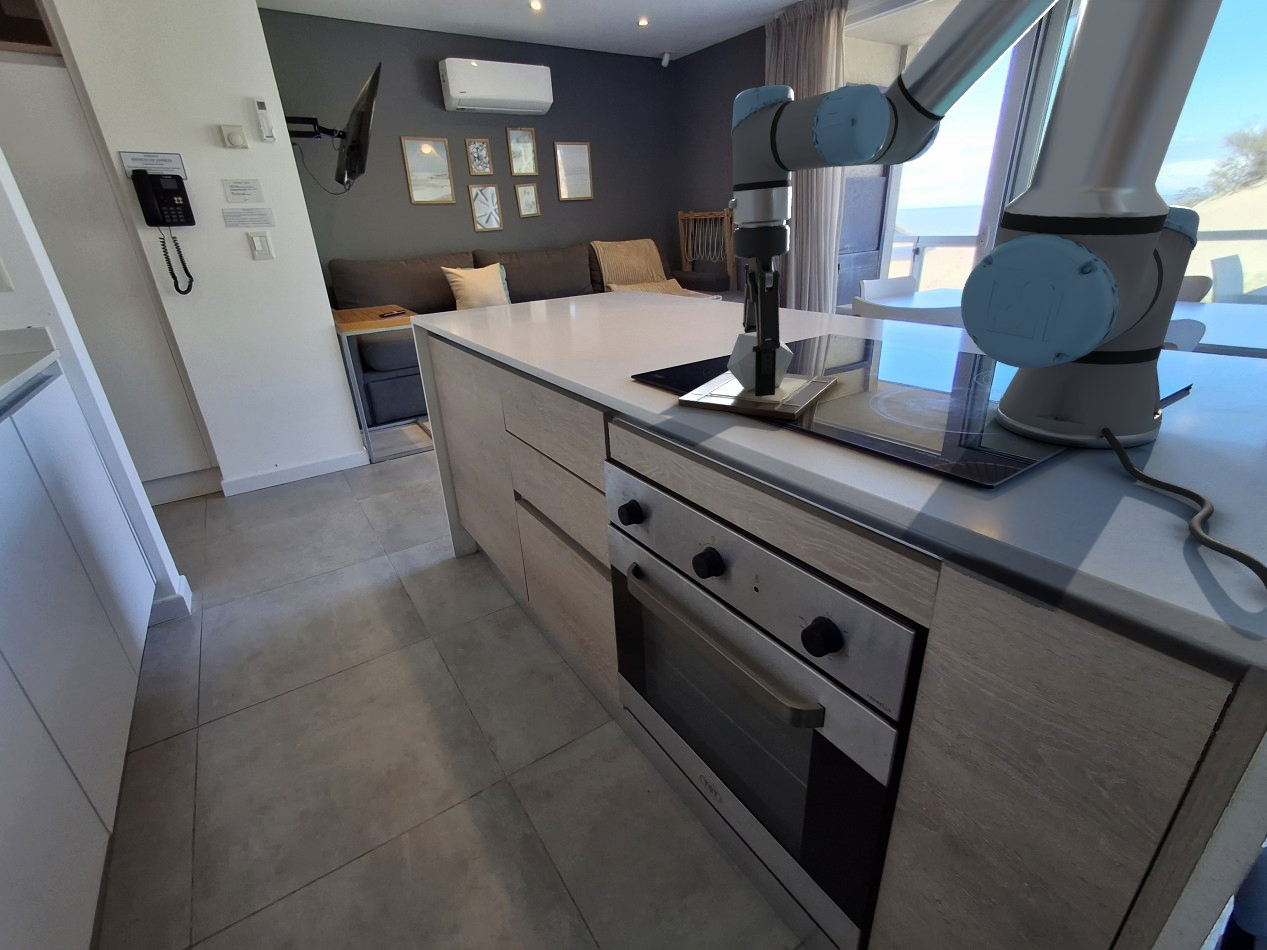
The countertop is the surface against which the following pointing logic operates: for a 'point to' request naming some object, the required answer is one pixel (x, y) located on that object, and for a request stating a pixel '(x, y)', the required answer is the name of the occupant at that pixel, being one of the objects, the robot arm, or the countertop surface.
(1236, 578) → the countertop surface
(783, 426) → the countertop surface
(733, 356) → the die
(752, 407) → the board
